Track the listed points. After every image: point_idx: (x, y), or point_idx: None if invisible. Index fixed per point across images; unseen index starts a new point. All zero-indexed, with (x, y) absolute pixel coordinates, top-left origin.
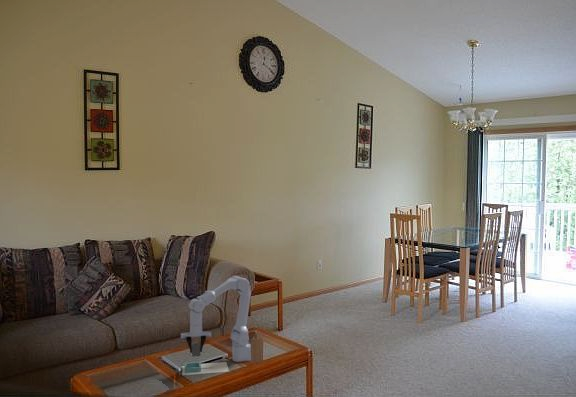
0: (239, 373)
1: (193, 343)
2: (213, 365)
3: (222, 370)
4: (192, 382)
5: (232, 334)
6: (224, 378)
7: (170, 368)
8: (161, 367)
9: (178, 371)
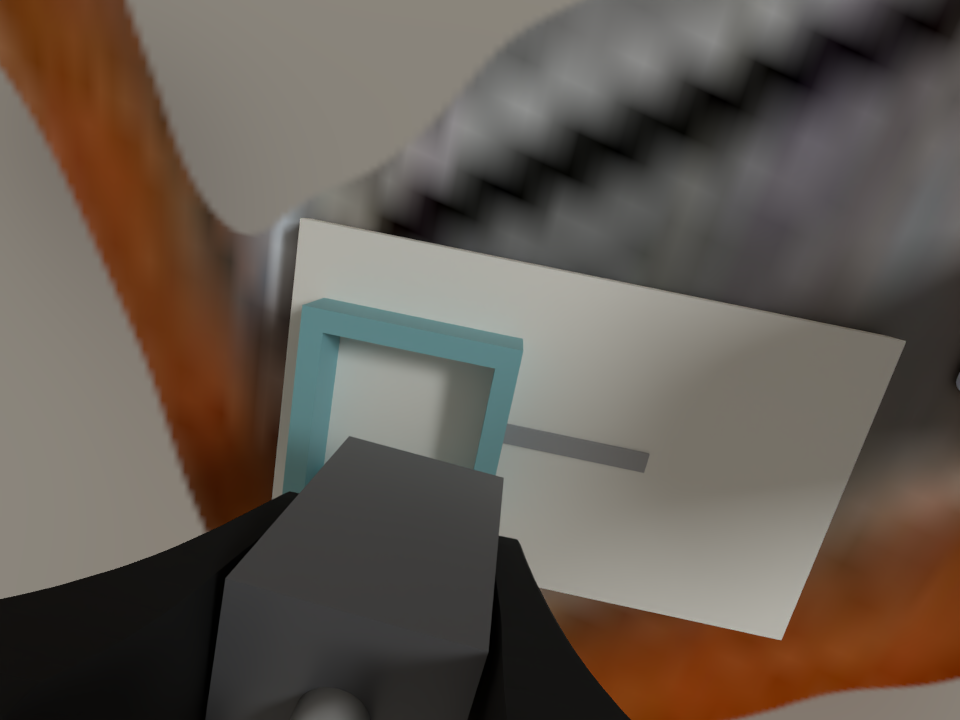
0: (876, 652)
1: (263, 675)
2: (687, 395)
3: (724, 588)
4: None
5: None
6: (675, 696)
7: (171, 178)
8: (60, 90)
9: (259, 322)
